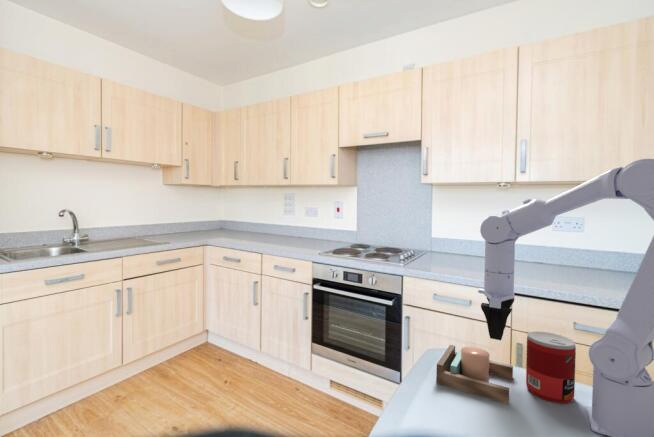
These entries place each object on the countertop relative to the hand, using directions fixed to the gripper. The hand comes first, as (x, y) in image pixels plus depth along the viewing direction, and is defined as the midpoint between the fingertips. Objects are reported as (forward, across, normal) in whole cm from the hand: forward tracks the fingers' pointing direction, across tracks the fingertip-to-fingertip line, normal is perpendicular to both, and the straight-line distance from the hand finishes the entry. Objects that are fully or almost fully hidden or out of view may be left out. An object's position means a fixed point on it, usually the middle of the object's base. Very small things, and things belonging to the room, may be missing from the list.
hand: (497, 333), depth 71 cm
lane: (+9, +4, -3) cm, 11 cm away
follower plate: (+9, +4, -7) cm, 13 cm away
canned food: (+10, +2, +10) cm, 14 cm away
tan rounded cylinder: (+10, +4, -4) cm, 11 cm away
